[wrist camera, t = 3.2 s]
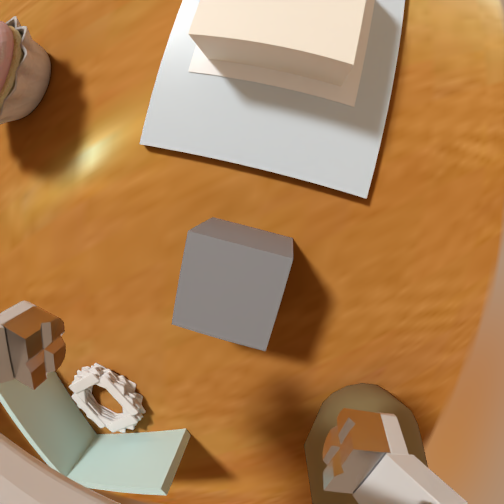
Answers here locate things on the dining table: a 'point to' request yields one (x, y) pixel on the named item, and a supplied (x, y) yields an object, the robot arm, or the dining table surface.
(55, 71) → the dining table surface
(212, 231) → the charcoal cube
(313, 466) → the squeeze bottle
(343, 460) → the robot arm
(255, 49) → the cream base block
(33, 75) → the cupcake
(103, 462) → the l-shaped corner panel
